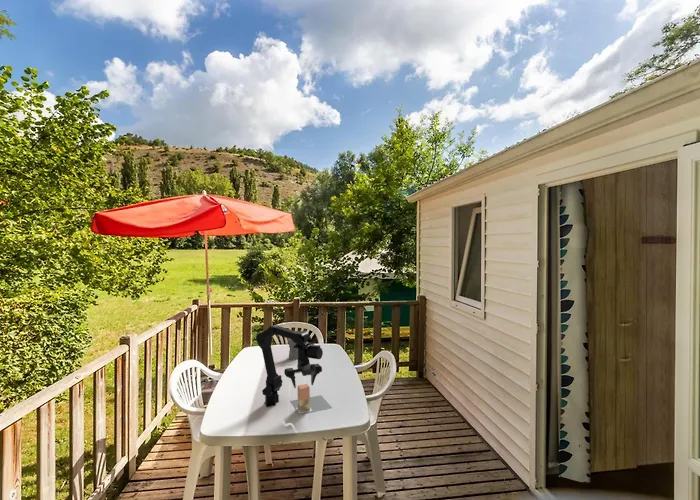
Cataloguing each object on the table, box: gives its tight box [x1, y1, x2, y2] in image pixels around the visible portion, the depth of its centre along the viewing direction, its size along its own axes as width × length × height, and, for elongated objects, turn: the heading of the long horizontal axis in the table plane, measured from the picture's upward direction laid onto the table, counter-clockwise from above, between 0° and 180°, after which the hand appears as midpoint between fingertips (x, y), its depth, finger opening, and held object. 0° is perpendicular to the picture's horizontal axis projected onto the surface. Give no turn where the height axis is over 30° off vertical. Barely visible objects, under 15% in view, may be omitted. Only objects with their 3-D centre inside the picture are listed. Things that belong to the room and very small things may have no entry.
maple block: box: [297, 397, 310, 412], centre depth 192 cm, size 5×5×6 cm
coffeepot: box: [285, 337, 298, 360], centre depth 280 cm, size 15×9×18 cm, turn 70°
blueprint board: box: [290, 394, 333, 416], centre depth 198 cm, size 18×18×1 cm
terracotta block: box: [297, 383, 311, 401], centre depth 192 cm, size 5×5×6 cm
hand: (303, 386), depth 192 cm, fingers open, 9 cm apart
